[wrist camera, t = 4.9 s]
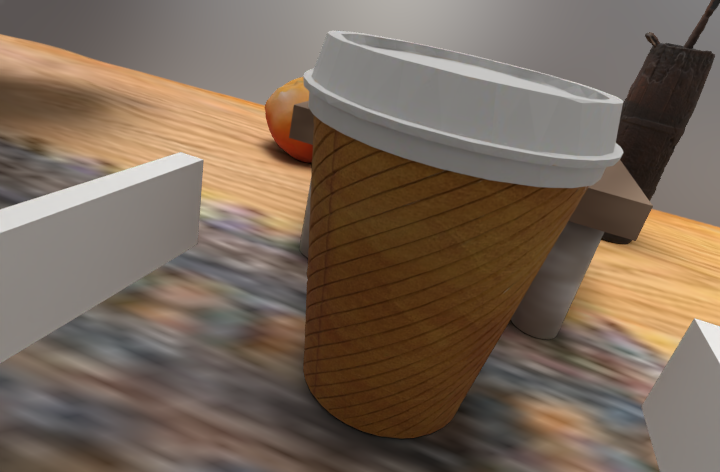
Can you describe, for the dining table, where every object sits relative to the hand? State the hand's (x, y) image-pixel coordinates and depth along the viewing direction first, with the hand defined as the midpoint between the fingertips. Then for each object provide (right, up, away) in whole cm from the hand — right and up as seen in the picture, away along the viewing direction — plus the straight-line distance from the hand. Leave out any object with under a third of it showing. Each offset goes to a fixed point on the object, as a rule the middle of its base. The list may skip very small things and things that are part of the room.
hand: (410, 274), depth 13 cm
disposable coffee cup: (-1, -5, +7) cm, 8 cm away
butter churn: (+18, +2, +28) cm, 33 cm away
